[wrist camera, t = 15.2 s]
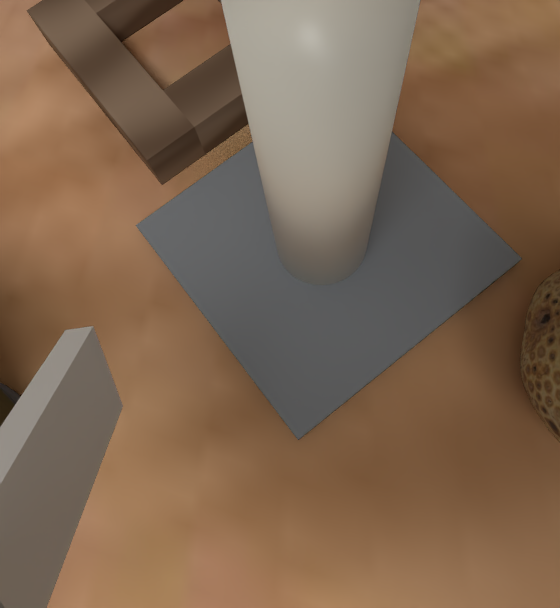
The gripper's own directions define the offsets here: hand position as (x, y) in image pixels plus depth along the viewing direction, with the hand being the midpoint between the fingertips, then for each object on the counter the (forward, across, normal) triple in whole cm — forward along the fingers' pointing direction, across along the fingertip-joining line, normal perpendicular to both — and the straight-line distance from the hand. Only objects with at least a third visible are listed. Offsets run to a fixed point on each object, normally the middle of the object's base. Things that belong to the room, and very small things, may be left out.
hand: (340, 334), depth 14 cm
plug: (+13, 0, -2) cm, 13 cm away
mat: (+13, 0, -3) cm, 13 cm away
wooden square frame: (+23, -5, +7) cm, 25 cm away
